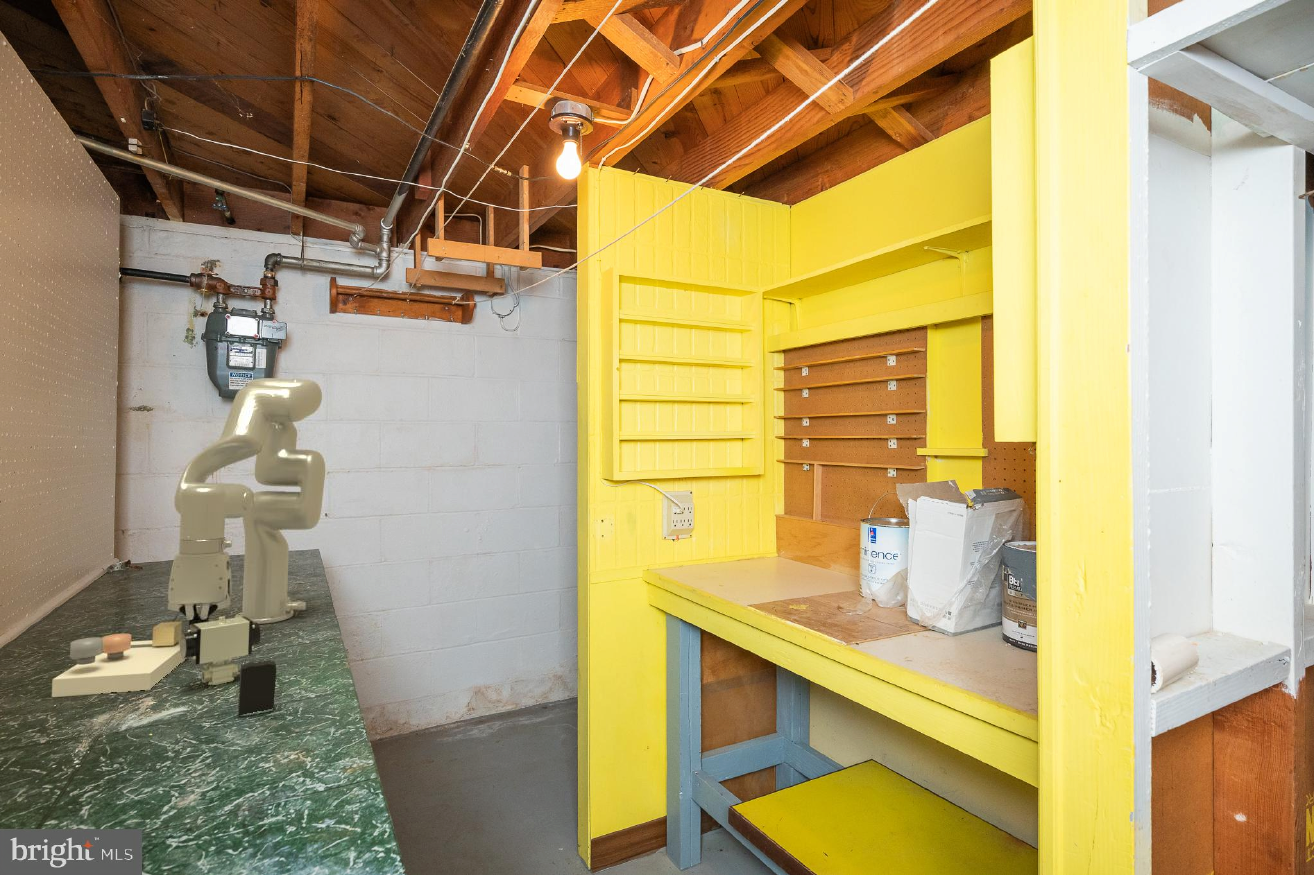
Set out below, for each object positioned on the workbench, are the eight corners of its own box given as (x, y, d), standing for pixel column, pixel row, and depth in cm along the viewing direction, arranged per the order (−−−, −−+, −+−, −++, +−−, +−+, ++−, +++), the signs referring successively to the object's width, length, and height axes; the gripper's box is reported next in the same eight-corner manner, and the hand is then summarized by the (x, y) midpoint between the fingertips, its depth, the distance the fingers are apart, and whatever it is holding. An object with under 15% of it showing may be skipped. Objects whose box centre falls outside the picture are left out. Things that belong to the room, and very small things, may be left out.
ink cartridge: (272, 707, 111) (275, 659, 112) (273, 712, 110) (276, 663, 110) (237, 712, 109) (240, 663, 109) (238, 717, 107) (241, 667, 107)
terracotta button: (134, 652, 127) (135, 632, 127) (124, 660, 123) (125, 639, 123) (106, 654, 125) (107, 634, 125) (95, 661, 121) (96, 640, 121)
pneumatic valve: (259, 678, 125) (261, 613, 125) (184, 694, 116) (187, 624, 116) (249, 670, 128) (251, 608, 129) (176, 685, 120) (179, 618, 120)
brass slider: (181, 639, 136) (181, 621, 136) (173, 645, 132) (174, 626, 132) (160, 640, 135) (161, 622, 135) (152, 646, 131) (152, 628, 131)
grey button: (107, 657, 120) (108, 636, 120) (95, 665, 116) (96, 643, 116) (77, 659, 119) (78, 638, 119) (64, 667, 115) (65, 645, 115)
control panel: (193, 652, 138) (194, 637, 138) (149, 690, 117) (150, 672, 117) (112, 657, 134) (113, 642, 134) (51, 697, 113) (52, 679, 113)
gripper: (248, 543, 141) (245, 630, 141) (165, 545, 136) (161, 635, 136) (238, 549, 134) (235, 640, 134) (150, 550, 129) (146, 645, 129)
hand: (198, 637), depth 135 cm, fingers closed
